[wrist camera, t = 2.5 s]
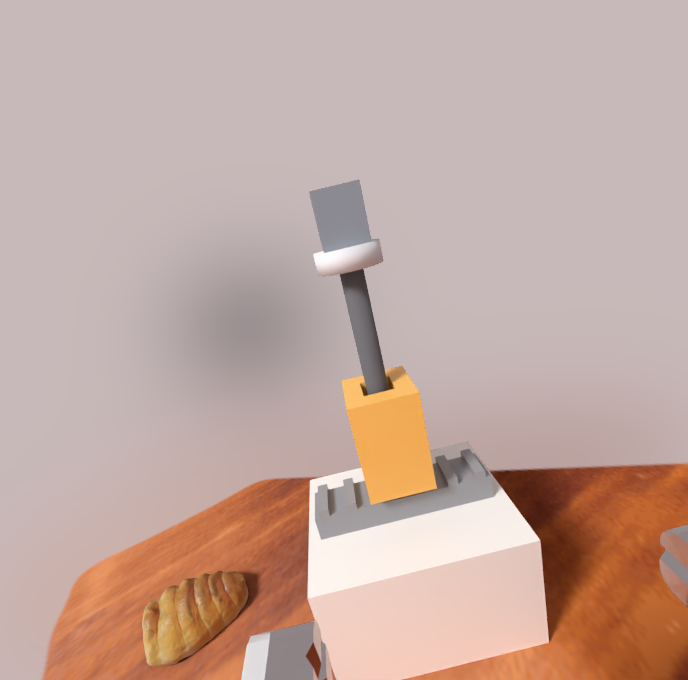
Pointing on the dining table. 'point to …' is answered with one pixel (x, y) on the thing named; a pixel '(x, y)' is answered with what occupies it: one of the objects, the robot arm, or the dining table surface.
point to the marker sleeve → (390, 437)
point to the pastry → (191, 615)
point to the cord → (351, 267)
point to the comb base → (423, 572)
